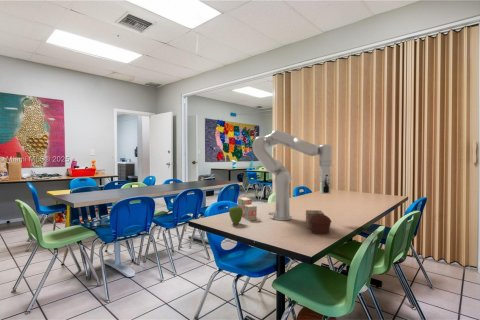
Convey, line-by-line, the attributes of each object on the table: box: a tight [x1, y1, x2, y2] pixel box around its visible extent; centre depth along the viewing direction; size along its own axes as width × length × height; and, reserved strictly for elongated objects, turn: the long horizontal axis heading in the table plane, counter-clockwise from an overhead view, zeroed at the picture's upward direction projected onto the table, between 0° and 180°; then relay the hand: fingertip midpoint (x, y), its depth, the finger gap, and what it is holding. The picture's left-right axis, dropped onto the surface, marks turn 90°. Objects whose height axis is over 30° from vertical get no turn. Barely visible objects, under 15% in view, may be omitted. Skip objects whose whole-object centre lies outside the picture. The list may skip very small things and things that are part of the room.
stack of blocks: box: [237, 196, 258, 221], centre depth 190 cm, size 21×6×12 cm, turn 19°
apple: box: [228, 205, 243, 225], centre depth 171 cm, size 9×8×12 cm
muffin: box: [310, 214, 333, 236], centre depth 150 cm, size 12×11×10 cm
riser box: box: [305, 209, 325, 230], centre depth 162 cm, size 9×9×9 cm
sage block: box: [319, 181, 332, 195], centre depth 173 cm, size 6×6×7 cm
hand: (325, 191), depth 173 cm, fingers closed on sage block, 5 cm apart
